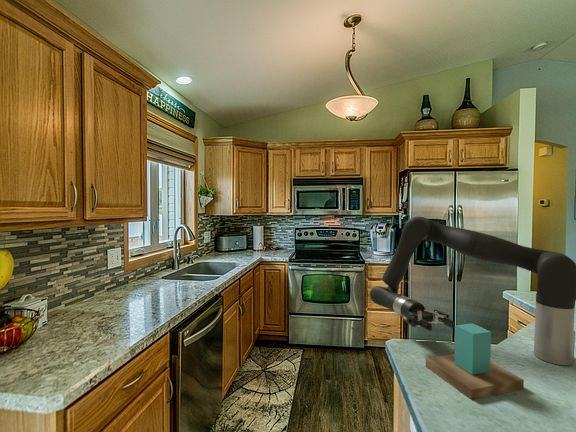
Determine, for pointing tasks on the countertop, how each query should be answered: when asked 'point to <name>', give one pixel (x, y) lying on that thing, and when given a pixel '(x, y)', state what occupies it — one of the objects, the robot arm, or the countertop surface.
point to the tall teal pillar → (472, 348)
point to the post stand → (474, 378)
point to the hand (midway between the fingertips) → (442, 326)
